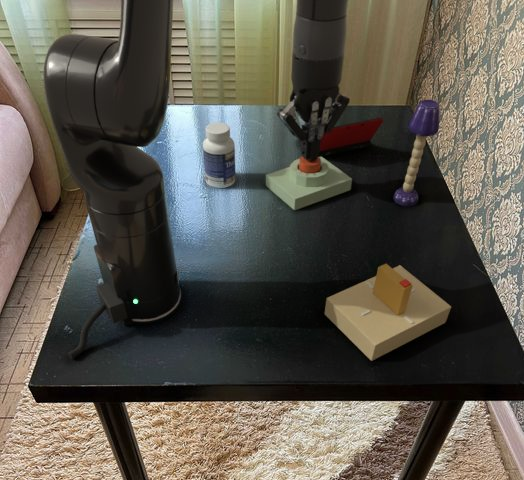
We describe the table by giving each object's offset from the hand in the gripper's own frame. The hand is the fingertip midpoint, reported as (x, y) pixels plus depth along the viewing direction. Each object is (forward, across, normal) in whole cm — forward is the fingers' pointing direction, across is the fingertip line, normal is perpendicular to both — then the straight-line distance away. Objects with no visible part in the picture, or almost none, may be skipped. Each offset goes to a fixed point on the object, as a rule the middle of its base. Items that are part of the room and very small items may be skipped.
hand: (309, 159), depth 91 cm
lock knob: (+2, +10, +32) cm, 34 cm away
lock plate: (+5, +10, +32) cm, 34 cm away
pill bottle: (+6, +12, -10) cm, 16 cm away
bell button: (+2, 0, 0) cm, 2 cm away
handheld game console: (+6, -13, -8) cm, 16 cm away
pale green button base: (+5, 0, 0) cm, 5 cm away
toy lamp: (+6, -12, +12) cm, 18 cm away
